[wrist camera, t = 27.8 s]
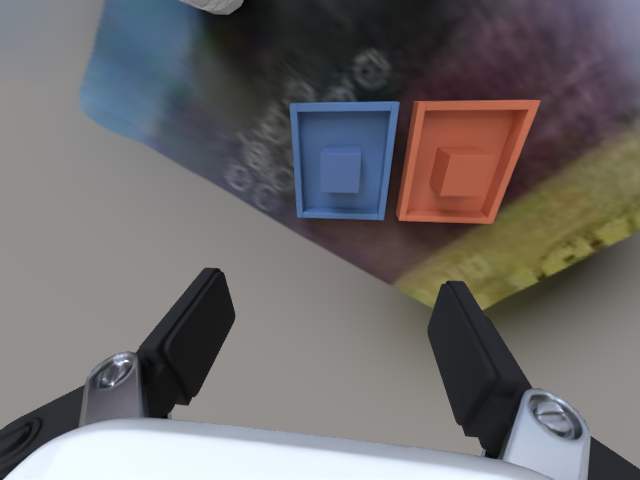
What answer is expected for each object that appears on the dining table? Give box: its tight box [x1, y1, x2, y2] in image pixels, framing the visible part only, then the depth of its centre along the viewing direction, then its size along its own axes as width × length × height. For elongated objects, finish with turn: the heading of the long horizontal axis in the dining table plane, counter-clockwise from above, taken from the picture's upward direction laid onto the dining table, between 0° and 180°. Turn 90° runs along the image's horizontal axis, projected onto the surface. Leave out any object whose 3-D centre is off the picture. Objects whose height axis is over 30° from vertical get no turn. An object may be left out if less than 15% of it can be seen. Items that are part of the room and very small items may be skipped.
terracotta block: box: [430, 147, 495, 197], centre depth 28 cm, size 4×4×4 cm
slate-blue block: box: [320, 146, 361, 193], centre depth 29 cm, size 4×4×4 cm
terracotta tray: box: [396, 100, 540, 224], centre depth 29 cm, size 12×14×2 cm
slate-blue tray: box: [290, 101, 400, 220], centre depth 30 cm, size 12×14×2 cm
